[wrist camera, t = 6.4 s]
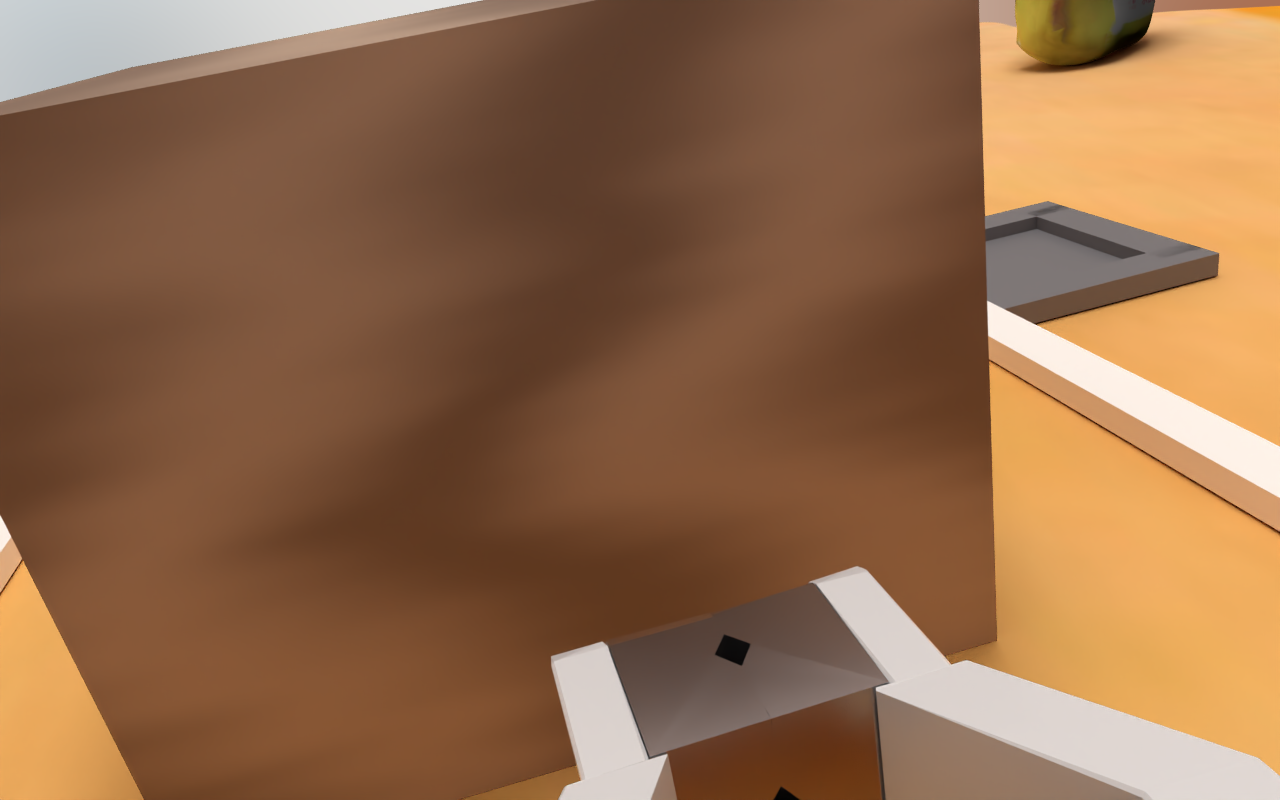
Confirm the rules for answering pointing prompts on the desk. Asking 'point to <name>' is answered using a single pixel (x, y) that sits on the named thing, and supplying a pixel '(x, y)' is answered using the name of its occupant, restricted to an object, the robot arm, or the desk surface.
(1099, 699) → the desk surface
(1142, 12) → the bottle
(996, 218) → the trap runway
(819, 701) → the robot arm
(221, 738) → the walnut block
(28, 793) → the desk surface
